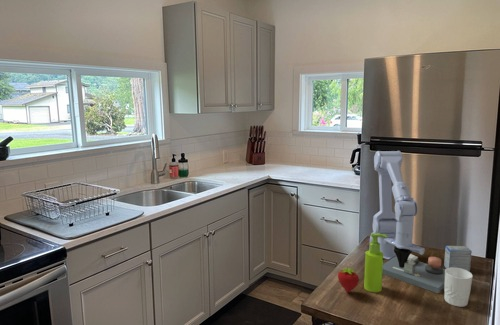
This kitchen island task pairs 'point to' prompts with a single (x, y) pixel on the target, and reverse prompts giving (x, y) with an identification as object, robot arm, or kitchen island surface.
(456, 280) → the white cup
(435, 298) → the kitchen island surface
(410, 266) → the slider knob
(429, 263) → the push button
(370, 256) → the soap dispenser
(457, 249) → the medicine box
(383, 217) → the robot arm
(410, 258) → the rocker switch
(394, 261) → the panel
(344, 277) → the strawberry
